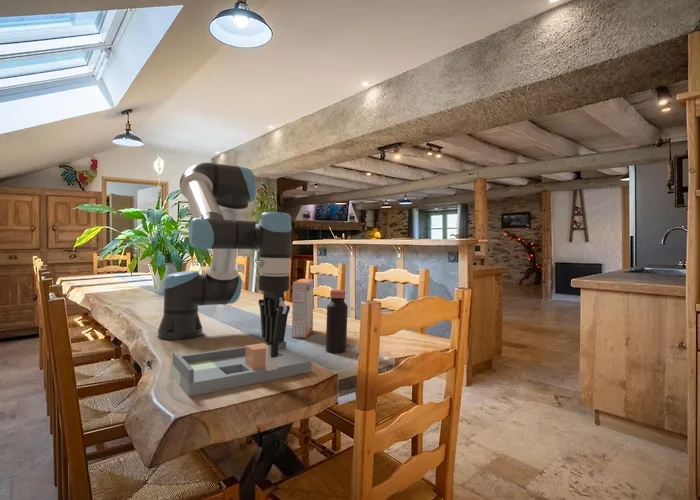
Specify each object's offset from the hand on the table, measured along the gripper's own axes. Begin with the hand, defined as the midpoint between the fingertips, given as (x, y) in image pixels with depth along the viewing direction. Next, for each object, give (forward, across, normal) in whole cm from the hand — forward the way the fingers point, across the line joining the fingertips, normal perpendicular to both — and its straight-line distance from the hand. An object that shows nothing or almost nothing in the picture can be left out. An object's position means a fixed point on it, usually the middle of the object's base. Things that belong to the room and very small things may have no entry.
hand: (271, 368), depth 96 cm
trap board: (+4, -10, -3) cm, 12 cm away
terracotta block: (+1, -7, -1) cm, 7 cm away
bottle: (+4, -16, +31) cm, 35 cm away
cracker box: (+4, -42, +33) cm, 54 cm away
